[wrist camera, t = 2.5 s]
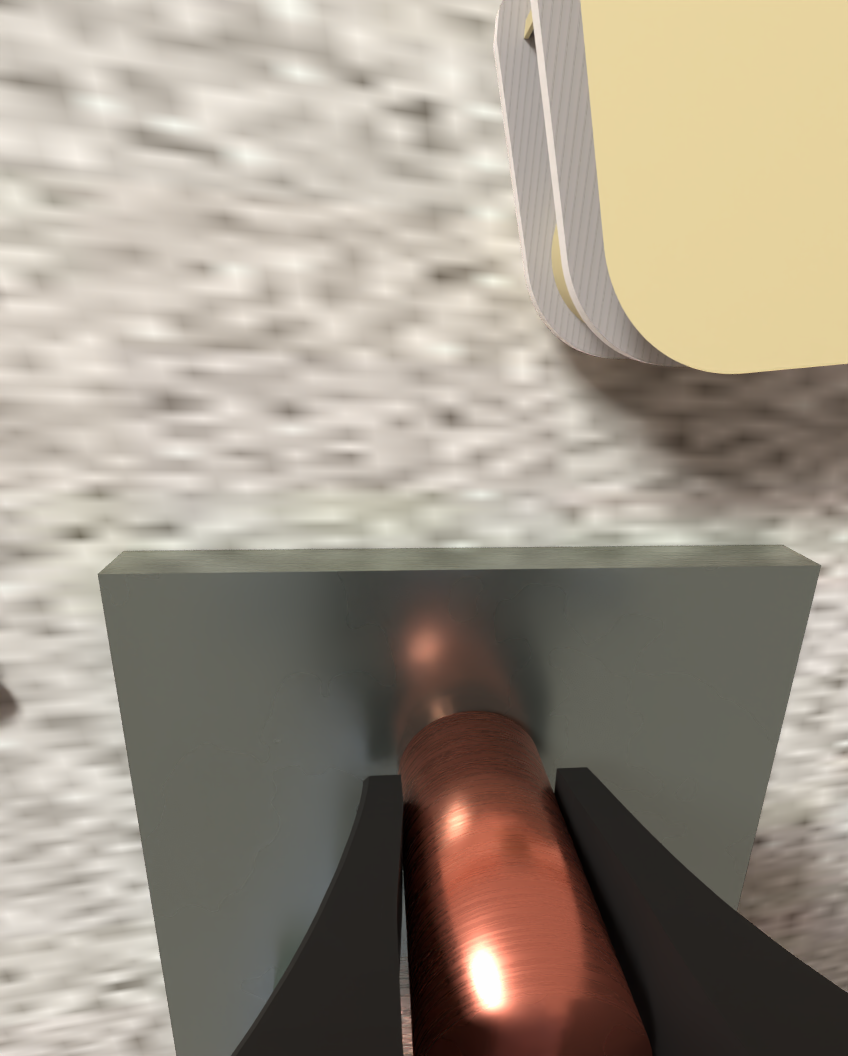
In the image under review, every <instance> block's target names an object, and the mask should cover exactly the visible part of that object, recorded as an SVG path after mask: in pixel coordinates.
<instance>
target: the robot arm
mask: <svg viewBox="0 0 848 1056" xmlns="http://www.w3.org/2000/svg"><path fill="white" fill-rule="evenodd" d="M554 795H555V797H556V800H557V802H558V805H559V808H560V810H561V813H562V815H563V818H564V821H565V823H566V826H567V828H568V831H569V834H570V836H571V839H572V841H573V844H574V847H575V849H576V852H577V854H578V857H579V860H580V862H581V865H582V867H583V870H584V873H585V875H586V878H587V880H588V883H589V886H590V888H591V891H592V893H593V896H594V898H595V901H596V904H597V906H598V909H599V911H600V914H601V917H602V919H603V922H604V924H605V927H606V930H607V932H608V935H609V937H610V940H611V943H612V945H613V948H614V950H615V953H616V956H617V958H618V961H619V963H620V966H621V969H622V971H623V974H624V976H625V979H626V982H627V984H628V987H629V989H630V992H631V995H632V997H633V1000H634V1002H635V1005H636V1007H637V1010H638V1013H639V1015H640V1018H641V1020H642V1023H643V1026H644V1028H645V1031H646V1033H647V1036H648V1039H649V1042H650V1045H651V1048H652V1056H848V993H847V992H845V991H844V990H842V989H841V988H839V987H838V986H836V985H835V984H834V983H832V982H831V981H829V980H828V979H826V978H825V977H824V976H822V975H821V974H819V973H818V972H816V971H815V970H814V969H812V968H811V967H809V966H808V965H806V964H805V963H803V962H802V961H801V960H799V959H798V958H796V957H795V956H794V955H792V954H791V953H790V952H788V951H787V950H785V949H784V948H783V947H781V946H780V945H779V944H777V943H776V942H775V941H773V940H772V939H771V938H770V937H768V936H767V935H766V934H764V933H763V932H762V931H761V930H759V929H758V928H757V927H756V926H754V925H753V924H752V923H751V922H749V921H748V920H747V919H745V918H744V917H743V916H742V915H740V914H739V913H738V912H737V911H735V910H734V909H733V908H732V907H731V906H729V905H728V904H727V903H726V902H725V901H723V900H722V899H721V898H720V897H719V896H717V895H716V894H715V893H714V892H713V891H712V890H711V889H710V888H708V887H707V886H706V885H705V884H704V883H703V882H702V881H701V880H699V879H698V878H697V877H696V876H695V875H694V874H693V873H692V872H690V871H689V870H688V869H687V868H686V867H685V866H684V865H683V864H682V863H681V862H680V861H679V860H678V859H677V858H675V857H674V856H673V855H672V854H671V853H670V852H669V851H668V850H667V849H666V848H665V847H664V846H663V845H662V844H661V843H660V842H659V841H658V840H657V839H656V838H655V837H654V836H653V835H652V834H651V833H650V832H649V831H648V830H647V829H646V828H645V827H644V826H643V825H642V824H641V823H640V822H639V821H638V820H637V819H636V818H635V817H634V816H633V815H632V814H631V813H630V811H629V810H628V809H627V808H626V807H625V806H624V805H623V804H622V803H621V802H620V801H619V800H618V799H617V798H616V797H615V796H614V795H613V794H612V793H611V791H610V790H609V789H608V788H607V787H606V786H605V785H604V784H603V783H602V782H601V781H600V780H599V779H598V778H597V777H596V776H595V775H594V774H593V773H592V772H591V771H590V770H589V768H588V767H577V768H557V771H556V780H555V790H554ZM402 894H403V792H402V782H401V774H400V775H375V776H368V777H367V778H366V779H365V780H364V781H363V787H362V794H361V798H360V803H359V807H358V810H357V814H356V817H355V820H354V823H353V826H352V829H351V832H350V835H349V838H348V841H347V843H346V846H345V848H344V851H343V854H342V856H341V859H340V861H339V864H338V867H337V869H336V871H335V874H334V876H333V878H332V880H331V883H330V885H329V887H328V889H327V891H326V893H325V896H324V898H323V900H322V902H321V904H320V907H319V909H318V911H317V913H316V915H315V917H314V919H313V921H312V923H311V925H310V927H309V929H308V931H307V933H306V935H305V936H304V938H303V940H302V942H301V944H300V946H299V948H298V949H297V951H296V953H295V955H294V957H293V958H292V960H291V962H290V964H289V966H288V967H287V969H286V971H285V972H284V974H283V976H282V977H281V979H280V981H279V982H278V984H277V986H276V987H275V989H274V991H273V992H272V994H271V996H270V997H269V999H268V1000H267V1002H266V1004H265V1005H264V1007H263V1009H262V1010H261V1012H260V1013H259V1015H258V1016H257V1018H256V1020H255V1021H254V1023H253V1024H252V1026H251V1027H250V1029H249V1030H248V1032H247V1033H246V1035H245V1036H244V1037H243V1039H242V1040H241V1042H240V1043H239V1045H238V1046H237V1047H236V1049H235V1050H234V1052H233V1053H232V1055H231V1056H404V1055H403V1036H402V1017H401V998H400V956H401V933H402Z"/></svg>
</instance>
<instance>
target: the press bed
mask: <svg viewBox="0 0 848 1056" xmlns="http://www.w3.org/2000/svg"><path fill="white" fill-rule="evenodd" d="M820 567H821V565H819V564H818V563H816V562H814V561H812V560H810V559H808V558H806V557H804V556H803V555H801V554H799V553H797V552H795V551H793V550H791V549H789V548H788V547H786V546H784V545H726V546H617V547H509V548H401V549H293V550H184V551H123V552H122V553H121V554H120V555H119V556H118V557H116V558H115V559H114V560H113V561H112V562H111V563H110V564H109V565H107V566H106V567H105V568H104V569H103V570H102V571H101V572H100V573H99V574H98V578H99V584H100V591H101V597H102V603H103V609H104V615H105V621H106V627H107V633H108V639H109V646H110V652H111V658H112V664H113V670H114V676H115V682H116V688H117V695H118V701H119V707H120V713H121V719H122V725H123V731H124V737H125V744H126V750H127V756H128V762H129V768H130V774H131V780H132V786H133V793H134V799H135V805H136V811H137V817H138V823H139V829H140V835H141V842H142V848H143V854H144V860H145V866H146V872H147V878H148V884H149V890H150V897H151V903H152V909H153V915H154V921H155V927H156V933H157V939H158V946H159V952H160V958H161V964H162V970H163V976H164V982H165V988H166V995H167V1001H168V1007H169V1013H170V1019H171V1025H172V1031H173V1037H174V1044H175V1050H176V1056H231V1055H232V1053H233V1052H234V1050H235V1049H236V1047H237V1046H238V1045H239V1043H240V1042H241V1040H242V1039H243V1037H244V1036H245V1035H246V1033H247V1032H248V1030H249V1029H250V1027H251V1026H252V1024H253V1023H254V1021H255V1020H256V1018H257V1016H258V1015H259V1013H260V1012H261V1010H262V1009H263V1007H264V1005H265V1004H266V1002H267V1000H268V999H269V997H270V996H271V994H272V992H273V991H274V989H275V987H276V986H277V984H278V982H279V981H280V979H281V977H282V976H283V974H284V972H285V971H286V969H287V967H288V966H289V964H290V962H291V960H292V958H293V957H294V955H295V953H296V951H297V949H298V948H299V946H300V944H301V942H302V940H303V938H304V936H305V935H306V933H307V931H308V929H309V927H310V925H311V923H312V921H313V919H314V917H315V915H316V913H317V911H318V909H319V907H320V904H321V902H322V900H323V898H324V896H325V893H326V891H327V889H328V887H329V885H330V883H331V880H332V878H333V876H334V874H335V871H336V869H337V867H338V864H339V861H340V859H341V856H342V854H343V851H344V848H345V846H346V843H347V841H348V838H349V835H350V832H351V829H352V826H353V823H354V820H355V817H356V814H357V810H358V807H359V803H360V798H361V794H362V787H363V781H364V780H365V779H366V778H367V777H368V776H375V775H398V770H399V764H400V760H401V757H402V755H403V752H404V750H405V748H406V747H407V745H408V744H409V742H410V741H411V740H412V739H413V737H414V736H415V735H416V734H417V733H418V732H419V731H421V730H422V729H423V728H424V727H426V726H427V725H429V724H430V723H432V722H434V721H435V720H438V719H440V718H442V717H445V716H448V715H451V714H454V713H459V712H466V711H484V712H491V713H495V714H499V715H502V716H504V717H507V718H509V719H511V720H512V721H514V722H516V723H517V724H518V725H520V726H521V727H522V728H523V729H524V730H525V731H526V732H527V733H528V734H529V735H530V737H531V738H532V740H533V742H534V744H535V746H536V748H537V751H538V753H539V756H540V758H541V761H542V764H543V766H544V769H545V771H546V774H547V777H548V779H549V782H550V784H551V787H552V789H553V792H554V790H555V780H556V771H557V768H577V767H588V768H589V770H590V771H591V772H592V773H593V774H594V775H595V776H596V777H597V778H598V779H599V780H600V781H601V782H602V783H603V784H604V785H605V786H606V787H607V788H608V789H609V790H610V791H611V793H612V794H613V795H614V796H615V797H616V798H617V799H618V800H619V801H620V802H621V803H622V804H623V805H624V806H625V807H626V808H627V809H628V810H629V811H630V813H631V814H632V815H633V816H634V817H635V818H636V819H637V820H638V821H639V822H640V823H641V824H642V825H643V826H644V827H645V828H646V829H647V830H648V831H649V832H650V833H651V834H652V835H653V836H654V837H655V838H656V839H657V840H658V841H659V842H660V843H661V844H662V845H663V846H664V847H665V848H666V849H667V850H668V851H669V852H670V853H671V854H672V855H673V856H674V857H675V858H677V859H678V860H679V861H680V862H681V863H682V864H683V865H684V866H685V867H686V868H687V869H688V870H689V871H690V872H692V873H693V874H694V875H695V876H696V877H697V878H698V879H699V880H701V881H702V882H703V883H704V884H705V885H706V886H707V887H708V888H710V889H711V890H712V891H713V892H714V893H715V894H716V895H717V896H719V897H720V898H721V899H722V900H723V901H725V902H726V903H727V904H728V905H729V906H731V907H732V908H733V909H734V910H735V911H737V908H738V904H739V900H740V896H741V892H742V888H743V884H744V880H745V876H746V871H747V867H748V863H749V859H750V855H751V851H752V847H753V843H754V839H755V834H756V830H757V826H758V822H759V818H760V814H761V810H762V806H763V802H764V797H765V793H766V789H767V785H768V781H769V777H770V773H771V769H772V765H773V761H774V756H775V752H776V748H777V744H778V740H779V736H780V732H781V728H782V724H783V719H784V715H785V711H786V707H787V703H788V699H789V695H790V691H791V687H792V682H793V678H794V674H795V670H796V666H797V662H798V658H799V654H800V650H801V645H802V641H803V637H804V633H805V629H806V625H807V621H808V617H809V613H810V609H811V604H812V600H813V596H814V592H815V588H816V584H817V580H818V576H819V572H820ZM400 957H408V951H407V933H406V914H405V895H404V876H403V894H402V933H401V956H400Z"/></svg>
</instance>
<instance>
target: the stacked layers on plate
mask: <svg viewBox="0 0 848 1056" xmlns="http://www.w3.org/2000/svg"><path fill="white" fill-rule="evenodd" d="M493 49H494V57H495V64H496V71H497V78H498V86H499V93H500V100H501V107H502V115H503V122H504V129H505V136H506V144H507V151H508V158H509V165H510V173H511V180H512V187H513V194H514V202H515V209H516V216H517V223H518V231H519V238H520V245H521V252H522V260H523V267H524V274H525V280H526V285H527V288H528V292H529V295H530V298H531V300H532V303H533V305H534V307H535V309H536V311H537V313H538V314H539V316H540V318H541V319H542V321H543V322H544V323H545V325H546V326H547V327H548V328H549V329H550V330H551V331H552V332H553V333H554V334H555V335H556V336H557V337H558V338H559V339H560V340H562V341H563V342H564V343H566V344H567V345H569V346H571V347H572V348H574V349H576V350H578V351H580V352H583V353H586V354H589V355H592V356H597V357H603V358H611V359H629V358H631V359H634V360H637V361H640V362H644V363H648V364H654V365H661V366H670V367H686V366H689V367H692V368H695V369H698V370H702V371H706V372H712V373H720V374H742V373H753V372H764V371H774V370H785V369H796V368H807V367H817V366H828V365H839V364H848V0H503V1H502V3H501V5H500V8H499V10H498V13H497V15H496V22H495V34H494V45H493Z"/></svg>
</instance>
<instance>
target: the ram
mask: <svg viewBox="0 0 848 1056" xmlns="http://www.w3.org/2000/svg"><path fill="white" fill-rule="evenodd" d="M400 774H401V782H402V792H403V876H404V895H405V914H406V933H407V951H408V957H400V998H401V1017H402V1036H403V1055H404V1056H652V1048H651V1045H650V1042H649V1039H648V1036H647V1033H646V1031H645V1028H644V1026H643V1023H642V1020H641V1018H640V1015H639V1013H638V1010H637V1007H636V1005H635V1002H634V1000H633V997H632V995H631V992H630V989H629V987H628V984H627V982H626V979H625V976H624V974H623V971H622V969H621V966H620V963H619V961H618V958H617V956H616V953H615V950H614V948H613V945H612V943H611V940H610V937H609V935H608V932H607V930H606V927H605V924H604V922H603V919H602V917H601V914H600V911H599V909H598V906H597V904H596V901H595V898H594V896H593V893H592V891H591V888H590V886H589V883H588V880H587V878H586V875H585V873H584V870H583V867H582V865H581V862H580V860H579V857H578V854H577V852H576V849H575V847H574V844H573V841H572V839H571V836H570V834H569V831H568V828H567V826H566V823H565V821H564V818H563V815H562V813H561V810H560V808H559V805H558V802H557V800H556V797H555V795H554V792H553V789H552V787H551V784H550V782H549V779H548V777H547V774H546V771H545V769H544V766H543V764H542V761H541V758H540V756H539V753H538V751H537V748H536V746H535V744H534V742H533V740H532V738H531V737H530V735H529V734H528V733H527V732H526V731H525V730H524V729H523V728H522V727H521V726H520V725H518V724H517V723H516V722H514V721H512V720H511V719H509V718H507V717H504V716H502V715H499V714H495V713H491V712H484V711H466V712H459V713H454V714H451V715H448V716H445V717H442V718H440V719H438V720H435V721H434V722H432V723H430V724H429V725H427V726H426V727H424V728H423V729H422V730H421V731H419V732H418V733H417V734H416V735H415V736H414V737H413V739H412V740H411V741H410V742H409V744H408V745H407V747H406V748H405V750H404V752H403V755H402V757H401V760H400V764H399V770H398V775H400Z"/></svg>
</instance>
